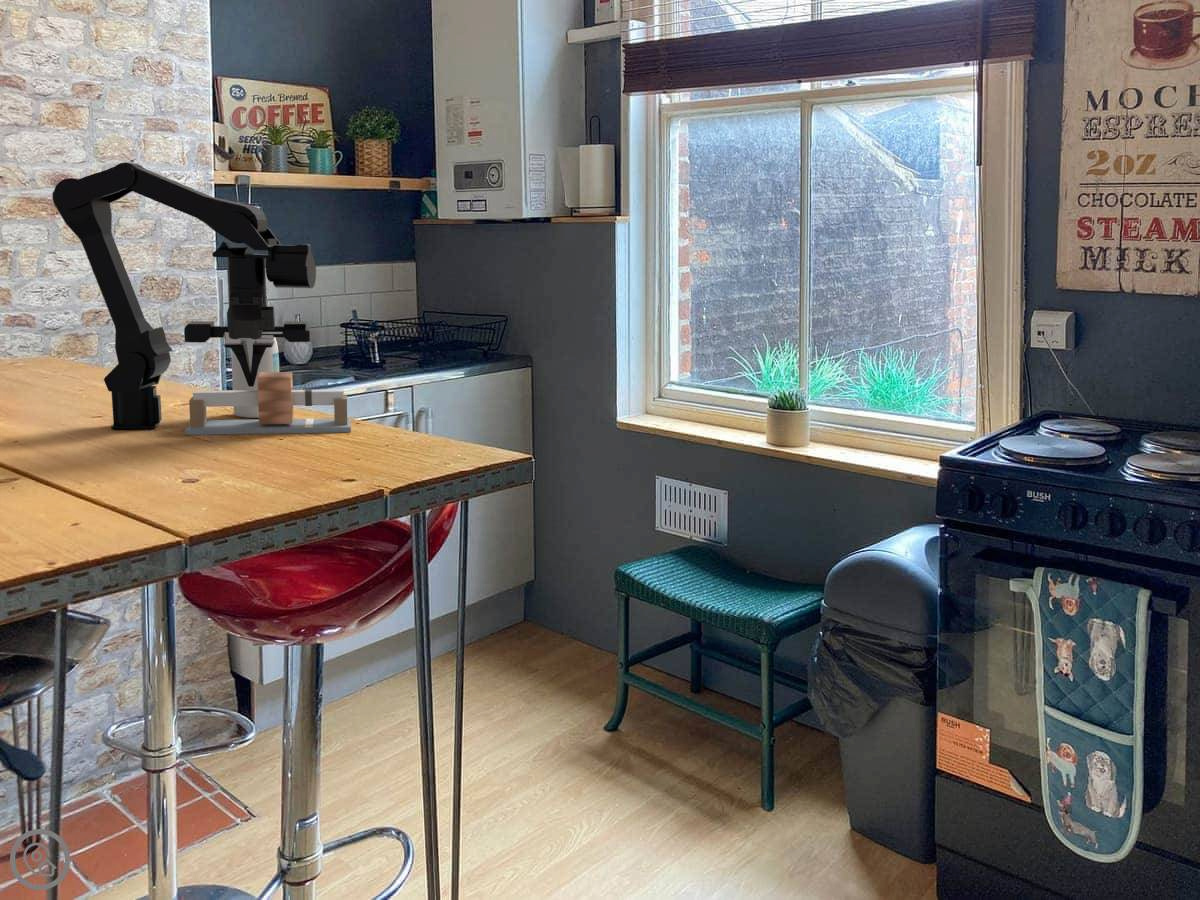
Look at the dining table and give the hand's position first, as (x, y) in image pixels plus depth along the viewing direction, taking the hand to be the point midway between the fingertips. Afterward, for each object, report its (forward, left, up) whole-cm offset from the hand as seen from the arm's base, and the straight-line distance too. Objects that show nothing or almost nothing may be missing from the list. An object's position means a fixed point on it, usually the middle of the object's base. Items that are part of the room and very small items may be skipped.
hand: (251, 386), depth 181 cm
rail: (+3, 0, -7) cm, 7 cm away
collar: (+4, 0, -6) cm, 7 cm away
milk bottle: (0, +13, -7) cm, 15 cm away
